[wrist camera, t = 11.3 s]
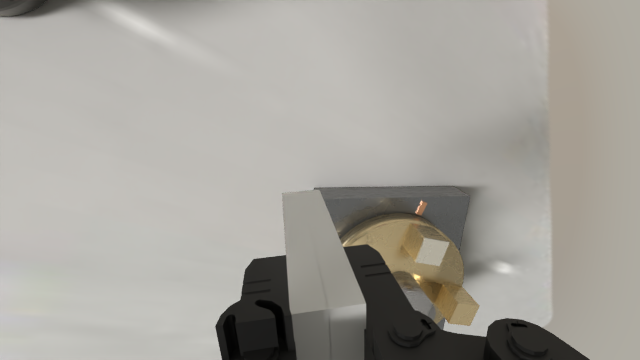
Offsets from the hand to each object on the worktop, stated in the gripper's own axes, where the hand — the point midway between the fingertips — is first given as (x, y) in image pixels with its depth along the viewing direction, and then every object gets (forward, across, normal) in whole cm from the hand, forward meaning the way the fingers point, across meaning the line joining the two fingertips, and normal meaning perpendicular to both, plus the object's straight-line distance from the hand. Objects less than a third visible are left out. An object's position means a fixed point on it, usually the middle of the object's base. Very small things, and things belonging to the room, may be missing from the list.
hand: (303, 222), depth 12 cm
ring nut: (+22, +12, -20) cm, 33 cm away
